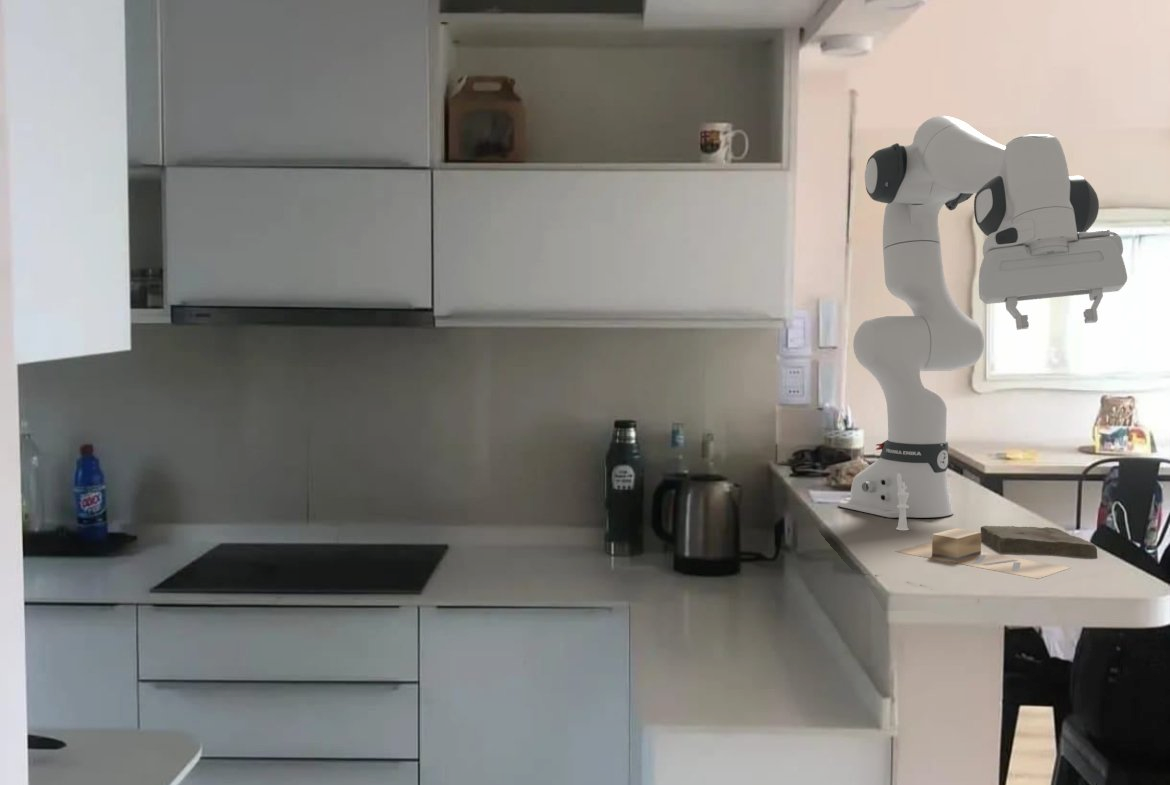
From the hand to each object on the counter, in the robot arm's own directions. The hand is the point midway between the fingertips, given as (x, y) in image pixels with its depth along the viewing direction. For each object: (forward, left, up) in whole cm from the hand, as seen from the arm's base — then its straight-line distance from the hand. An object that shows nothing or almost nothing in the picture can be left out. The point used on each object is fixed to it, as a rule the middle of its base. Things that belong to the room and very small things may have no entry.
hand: (1056, 325), depth 161 cm
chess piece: (-32, +10, -38) cm, 51 cm away
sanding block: (-15, -1, -37) cm, 39 cm away
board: (-11, -1, -38) cm, 40 cm away
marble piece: (-10, +14, -39) cm, 42 cm away
